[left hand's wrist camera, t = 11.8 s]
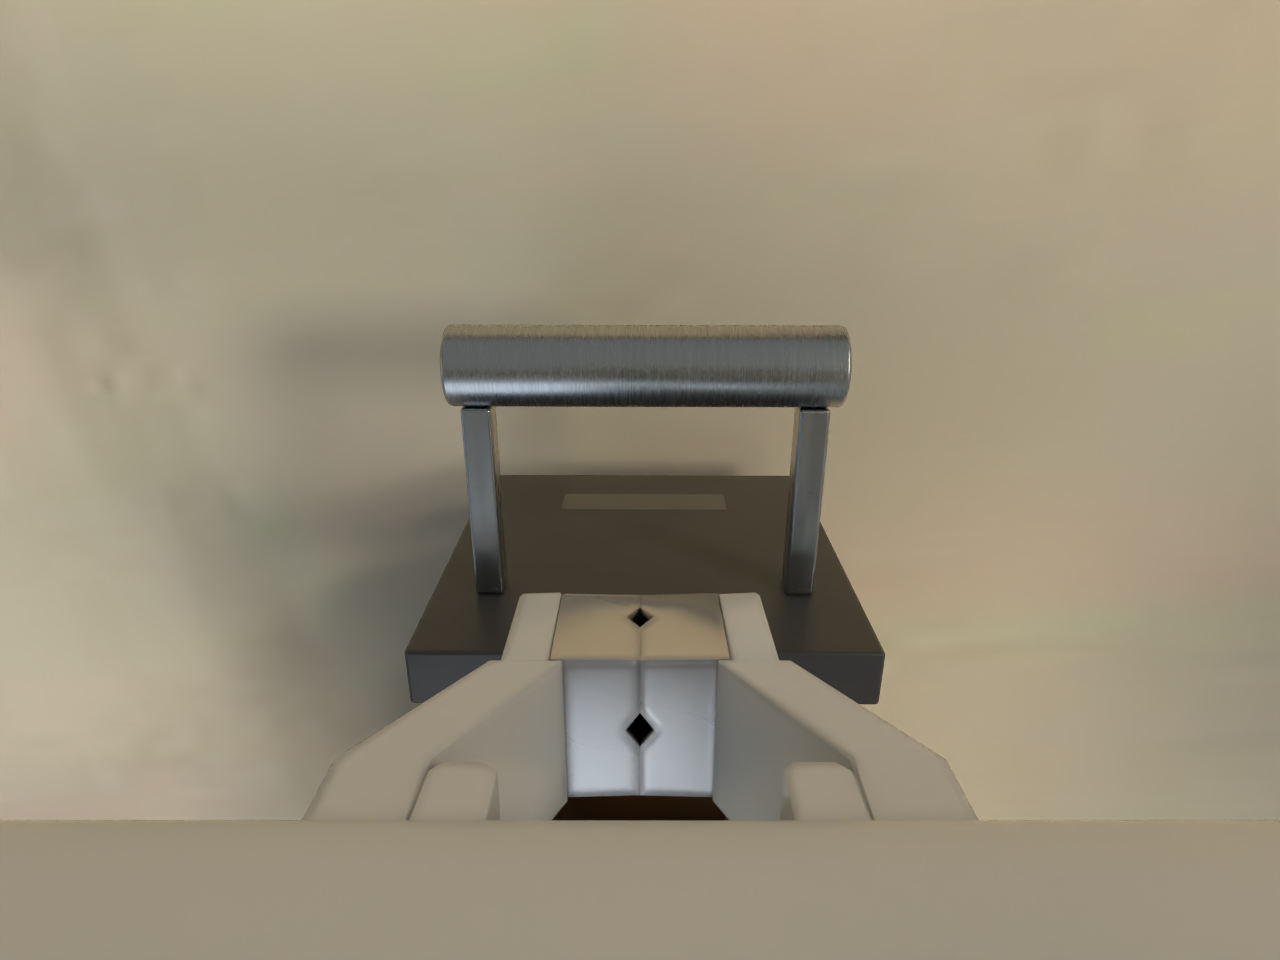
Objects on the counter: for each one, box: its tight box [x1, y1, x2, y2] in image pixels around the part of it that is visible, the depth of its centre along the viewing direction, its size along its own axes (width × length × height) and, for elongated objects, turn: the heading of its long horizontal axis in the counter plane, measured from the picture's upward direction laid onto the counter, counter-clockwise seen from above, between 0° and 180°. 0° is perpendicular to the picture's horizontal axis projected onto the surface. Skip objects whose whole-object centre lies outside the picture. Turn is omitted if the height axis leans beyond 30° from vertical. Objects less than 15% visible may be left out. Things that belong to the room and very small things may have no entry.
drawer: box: [405, 325, 885, 820], centre depth 22 cm, size 26×9×9 cm, turn 0°
